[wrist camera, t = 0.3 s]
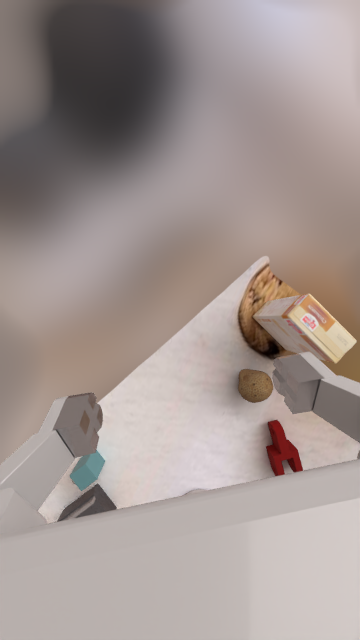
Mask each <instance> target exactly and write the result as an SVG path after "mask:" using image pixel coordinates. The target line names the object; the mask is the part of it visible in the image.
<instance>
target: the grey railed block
mask: <svg viewBox="0 0 360 640" xmlns="http://www.w3.org/2000/svg"><path fill="white" fill-rule="evenodd" d="M116 508H117V507H116V506H115V505H114V503H113V502H112V501H111V500H110V498H109V497H108V496H107V495H106V493H105V492H104V491H103V489H102V488H101V487H100V486H99V484H97V485H95V486H94V487H93V488H91V489H90V490H89V491H87V492H86V493H85V494H83V495H82V496H81V497H79V498H78V499H77V500H76V501H74V502H73V503H72V504H70V505H69V506H68V507H66V508H65V509H64V510H63V512H62V514H61V515H60V517H59V519H58V521H57V522H59V521H64V520H69V519H74V518H78V517H83V516H88V515H93V514H98V513H102V512H107V511H112V510H116Z"/></svg>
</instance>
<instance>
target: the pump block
mask: <svg viewBox="0 0 360 640" xmlns="http://www.w3.org/2000/svg"><path fill="white" fill-rule="evenodd" d="M104 462H105V460H104V459H103V458H102V456H101V455H100V454H99V453H98V451H97V450H96V453H93V454H89V455H84V456H83V457H82V458H80V460H79V462H78V463H77V465H76V466H75V468H74V470H73V471H72V473H71V474H70V477H71V479H72V482H73V483H74V484H76V485H77V486H78V487H79V489H80V490H81V491H82V490H83V489H85V488H86V487H87V486H89V485H90V484H91V483H93V482H94V481H95V480H97V478H98V476H99V474H100V472H101V469H102V467H103V465H104Z"/></svg>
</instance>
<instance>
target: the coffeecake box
mask: <svg viewBox="0 0 360 640" xmlns="http://www.w3.org/2000/svg"><path fill="white" fill-rule="evenodd" d="M253 318H254V319H255V320H256V321H257V322H258V323H259V324H260V325H261V326H262V327H263V328H264V329H265V330H266V331H267V332H268V333H269V334H270V335H271V336H272V337H273V338H274V339H275V340H276V341H277V342H278V343H279V344H280V345H281V346H282V347H283V348H284V349H285V350H288V351H292V352H296V353H304V352H311V353H312V354H313V355H314V356H315V357H317V358H318V359H322V360H325V361H329V362H333V363H337V362H338V361H339V360H340V359H341V358H342V356H343V355H344V354H345V353H346V352H347V351H348V350H349V349H351V348H352V346H353V345H354V344H355V343H356V340H355V339H354V338H353V337H352V336H351V335H350V334H349V333H348V332H347V331H346V330H345V329H344V328H343V327H342V326H341V325H340V324H339V323H338V322H337V321H336V320H335V319H334V318H333V317H332V316H331V315H330V314H329V313H328V311H326V310H325V309H324V308H323V307H322V306H321V305H320V303H318V301H317V300H316V299H315V298H314V297H312V296H311V294H305V295H299V296H294V297H288V298H283V299H277V300H271V301H267V302H266V303H265V304H264V305H263V306H262V307H261V308H260V309H259V310H258V311H257V312H256V313H255V314H254V316H253Z"/></svg>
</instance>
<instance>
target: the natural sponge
mask: <svg viewBox="0 0 360 640" xmlns="http://www.w3.org/2000/svg"><path fill="white" fill-rule="evenodd" d="M238 390H239V393H240V394H241V396H242V397H243V398H244V399H245V400H247V401H249V402H252V403H256V402H260V401H263V400H265V399H267V398H268V397H269V396H270V395H271V393H272V390H273V384H272V381H271V379H270V377H269V376H268V375H267V374H266V373H264V372H262V371H256V370H249V369H243V370H241V371H240V373H239V385H238Z"/></svg>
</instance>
